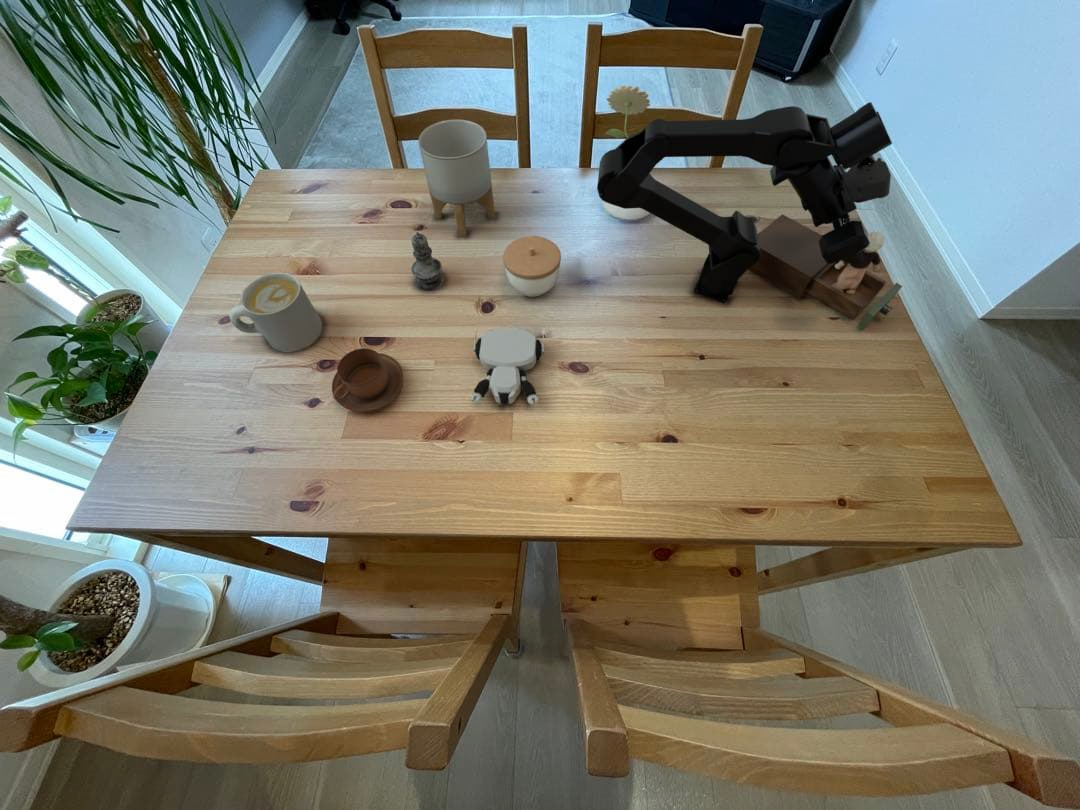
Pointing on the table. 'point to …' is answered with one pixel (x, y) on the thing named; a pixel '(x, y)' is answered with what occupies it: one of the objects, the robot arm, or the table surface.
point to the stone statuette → (425, 265)
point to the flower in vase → (627, 104)
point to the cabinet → (789, 255)
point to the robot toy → (507, 363)
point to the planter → (457, 168)
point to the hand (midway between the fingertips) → (853, 244)
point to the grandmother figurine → (860, 265)
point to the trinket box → (532, 265)
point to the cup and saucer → (366, 380)
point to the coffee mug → (278, 312)
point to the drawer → (851, 302)
